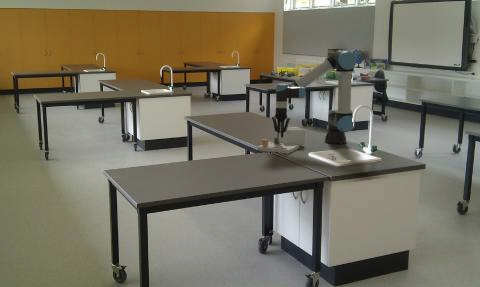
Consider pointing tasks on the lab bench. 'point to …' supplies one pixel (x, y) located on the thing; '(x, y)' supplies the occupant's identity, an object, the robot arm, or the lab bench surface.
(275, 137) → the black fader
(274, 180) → the lab bench surface
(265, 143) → the orange fader
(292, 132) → the cable organizer
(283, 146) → the mixing board
